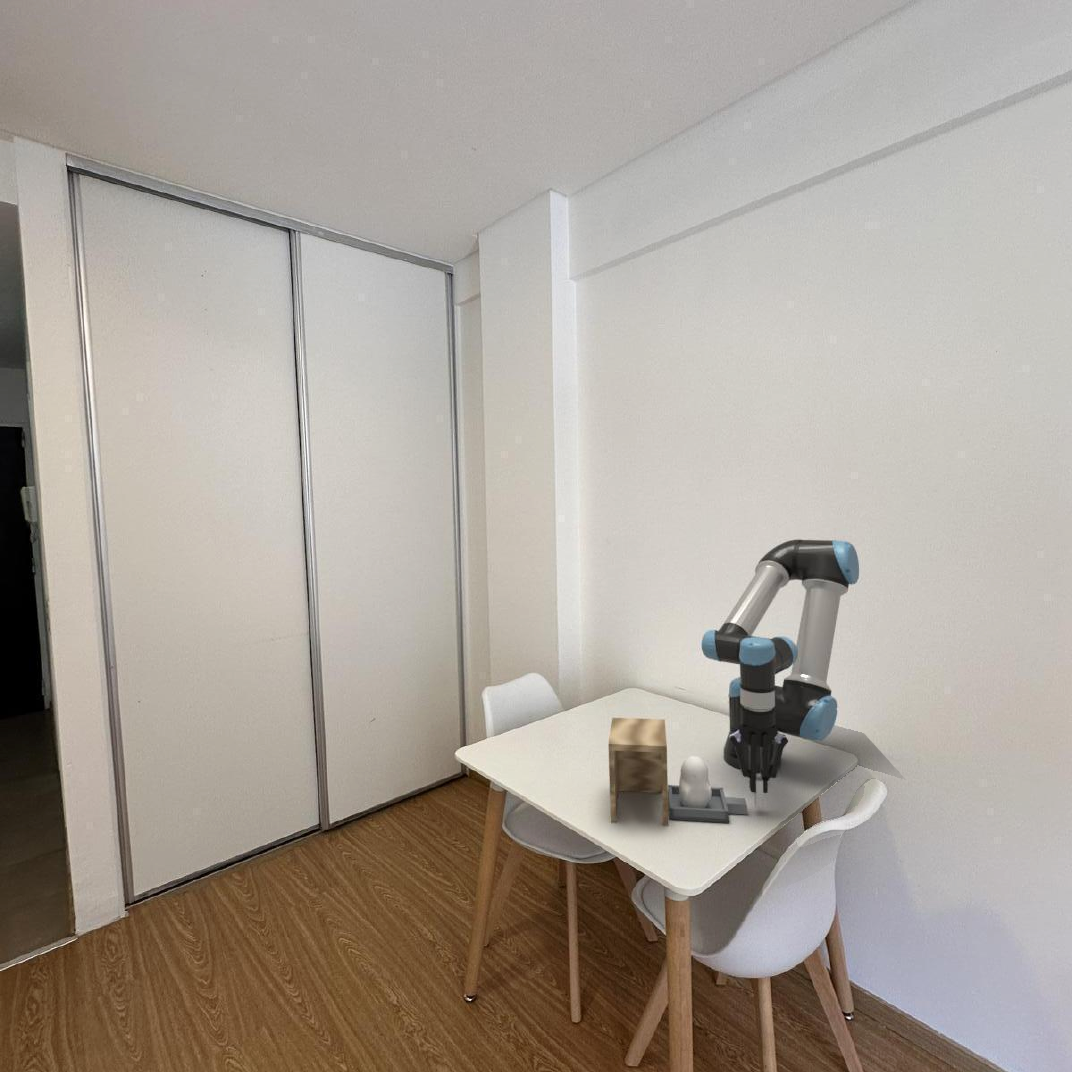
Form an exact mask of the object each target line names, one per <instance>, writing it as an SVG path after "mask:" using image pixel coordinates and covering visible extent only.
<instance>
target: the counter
mask: <svg viewBox="0 0 1072 1072" xmlns="http://www.w3.org/2000/svg"><path fill="white" fill-rule="evenodd" d="M666 732H667V731H666V719H665V718H663V719H662V718H639V717H638V718H637V717H635V718H633V717H611V725H610V732H609V737H608V772H609V775H608V776H609V807H610V823H617V818H618V817H617V814H618V805H619V795H620V793H619V792H620V791H621V792H622V791H623V792H634V793H635V792H637V793H638V792H639V793H653V794H654V793H655V794H656V793H657V794H661V795H662V826H663V827H664V826H665V827H666V826H667V827H668V826H669V824H670V823H669V819H670V818H669V798H668V785H669V784H668V746H667V743H668V742H667V733H666Z"/></svg>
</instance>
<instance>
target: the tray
mask: <svg viewBox="0 0 1072 1072" xmlns="http://www.w3.org/2000/svg"><path fill="white" fill-rule="evenodd" d="M711 790H712V796H711V799H710V801H709V802H708V804H707V806H706V808H689V807H684V806H682V804H681V801H680V796H679V784H677V785H676V784H675V785H674V784H668V812H669V819H670V820H675V821H676V820H678V821H679V820H680V821H696V822H707V823H725V824H727V823H730V814H731V815H748V809H747V808H748V804H747V801H746V799H745V797H733V796H730V797H729V796H725V792H724V788H723V787H715V786H714V787H713V786H711Z"/></svg>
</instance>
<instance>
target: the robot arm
mask: <svg viewBox="0 0 1072 1072" xmlns="http://www.w3.org/2000/svg"><path fill="white" fill-rule="evenodd" d="M858 557H859V556H858V554H857V550H856V548H855V546H854V545H853V544H852V543H851V542H849V541H845V540H844V541H843V540H836V539H833V540H831V539H830V540H828V539H827V540H826V539H825V540H824V539H823V540H821V539H798V538H797V539H792V540H790V539H789V540H787V541H785V542H783V543H780V544H778V545H777V546H775V547H773V548H771V549H770V550H769V551H768V552H767V553H765V554H764V555H763V556H762V557H761V558H760V560H759V562H758V563H757V564H756V566H755V568H754V572H755V574H754V576H753V577H752V579H751V581H750V582H749V584H748V585H747V586H746V588H745V590H744V591H743V593H742V594H741V596H740V597H739V599H738V601H737V602H736V604H735V605H734V606H733V608H732V610H731V612H730V613H729V615H728V616H727V618H726V619H725V621H723V624H722V625H721V626H720V628H719V630H717V629H714V630H713V629H709V630H708V631H706V632H705V633H704V634H703V636H702V638H701V651H702V653H703V655H704V656H705V658H707V659H709V660H713V661H718V662H720V663H721V662H723V663H728V664H734V665H735V664H736V665H739V675H740V676H738V677H736V678H734V679H732V680H731V681H730V683H729V686H728V688H729V689H728V704H729V706H728V709H729V711H728V714H729V716H728V717H729V731H728V735H727V738H726V741H725V743H724V746H723V759H724V760H723V761H725V763H727V764H728V765H730V766H732V767H734V768H737V769H739V770H740V771H741V774H742V776H743V778H749V779H748V781H749V783H748V784H749V787H748V788H749V790H750V792H751V793H753V795H754V796H753V801H754V806H755V807H756V809H764V794H767V793H768V791H769V781H770V779H776V777H777V775H778V770H779V768H780V767H781V766H782V756H783V752H784V748H786V746H787V744H788V742H789V740H788V737H786V735H785V734H787V735H791V736H794V737H798V738H801V739H803V740H811V741H816V742H817V741H823V740H825V739H826V738H827V737H828V736H829V735H830V734H831V733H832V731H833V729H834V726H835V723H836V720H837V716H838V702H837V699H836V698H835V697H833V696H832V689H831V687H830V686H829V685H828V683H827V682H828V674H829V669H830V662H831V657H832V656H831V655H832V650H833V644H834V637H835V632H836V626H837V618H838V613H839V609H840V607H839V606H840V603H841V602H840V601H841V597H842V596H843V595H845V594H847V593H848V590H849V586H851V585H855V584H857V582H858V580H859V576H860V563H859V558H858ZM795 580H796V581H797V580H798V581H801V585H802V587H803V588H804V590H805V595H804V602H803V608H802V613H801V617H800V622H799V623H800V624H799V628H798V629H799V630H798V634H797V640H796V643H795V642H794V641H793V640H791V639H790V638H789V637H786V636H774V637H772V638H769V637H768V638H767V637H760V636H754V635H753V634H754V633H755V631H756V630H757V627H758V626H759V624H760V623H761V620H763V618H764V616H765V614H766V612H767V611H768V610H769V607H770V606H771V604H772V603H773V601H774V600H775V598H776V596H777V595H778V592H779V591H780V589H781V588H784V587H786V586H787V585H788V583H789V582H790V581H795ZM791 666H792V667H791ZM790 667H791V672H790V674H789V675H788V676H787V677H785V678H783V682H782V686H780V685H776V675H777V674H778V673H781V672H783V671H785V670H787V669H789V668H790ZM781 733H782V734H781ZM757 773H760V775H757Z"/></svg>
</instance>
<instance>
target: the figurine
mask: <svg viewBox="0 0 1072 1072" xmlns="http://www.w3.org/2000/svg"><path fill="white" fill-rule="evenodd" d="M679 776H680V777H679V780H678V781H679V783H678V786H679V796H680V801H681V804H682V806H684V807H689V808H706V806H707V804H708V802H709V801H710V799H711V796H712V790H711V787H712V786H711V784H710V780H709V767H708V765H707V763H706V761H705V760H704V759H703V758H701V757H700V756H696V755H691V756H688V757H686V758H685V759H684V760H683V762H682V764H681V767H680V775H679Z"/></svg>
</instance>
